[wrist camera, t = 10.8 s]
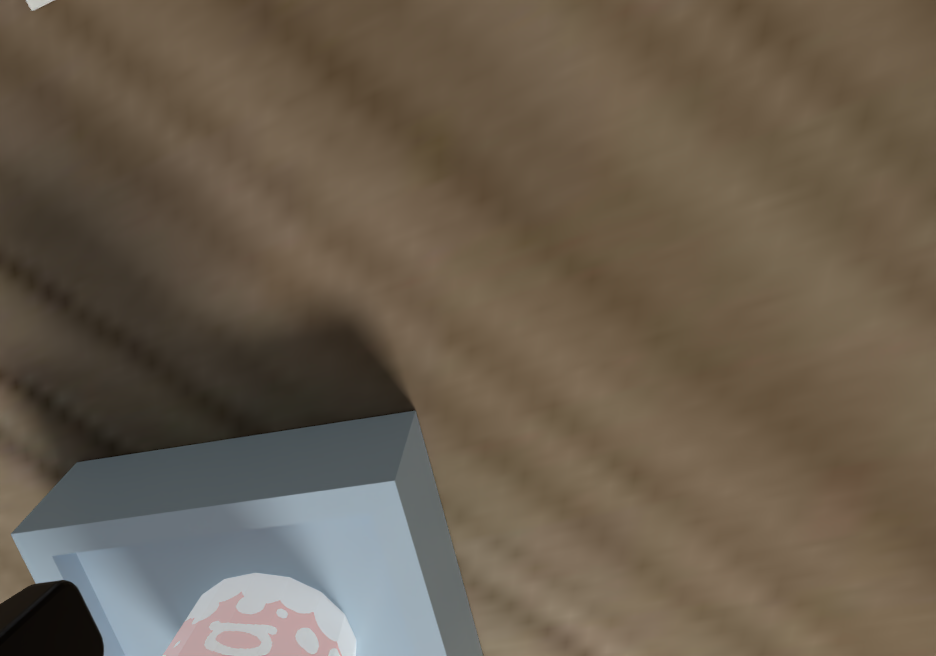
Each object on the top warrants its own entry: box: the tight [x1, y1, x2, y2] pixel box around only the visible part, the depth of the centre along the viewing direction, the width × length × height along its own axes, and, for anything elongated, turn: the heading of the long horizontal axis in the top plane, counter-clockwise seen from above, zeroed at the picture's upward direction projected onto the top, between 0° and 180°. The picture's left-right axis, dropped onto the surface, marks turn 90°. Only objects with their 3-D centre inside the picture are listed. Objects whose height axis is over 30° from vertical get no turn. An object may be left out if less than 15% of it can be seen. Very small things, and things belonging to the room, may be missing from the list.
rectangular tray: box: [11, 411, 483, 656], centre depth 24 cm, size 10×10×3 cm
